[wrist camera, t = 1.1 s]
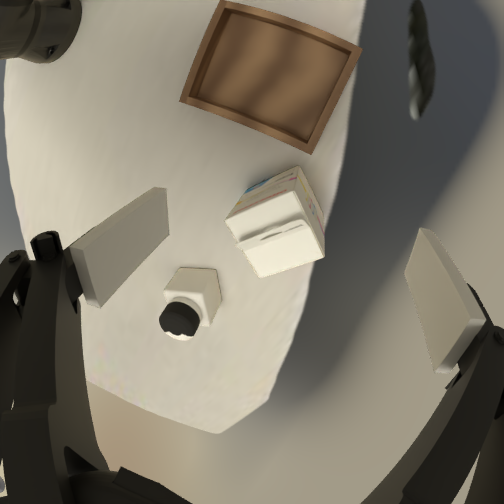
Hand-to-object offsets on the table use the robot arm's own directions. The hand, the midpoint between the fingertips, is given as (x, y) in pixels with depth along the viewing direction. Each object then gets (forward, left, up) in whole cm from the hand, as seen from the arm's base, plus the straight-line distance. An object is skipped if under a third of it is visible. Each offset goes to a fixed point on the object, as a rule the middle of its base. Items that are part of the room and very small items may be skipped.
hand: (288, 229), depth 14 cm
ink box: (+1, -9, -26) cm, 28 cm away
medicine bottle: (-6, -30, -26) cm, 40 cm away
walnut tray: (-8, +7, -26) cm, 28 cm away
